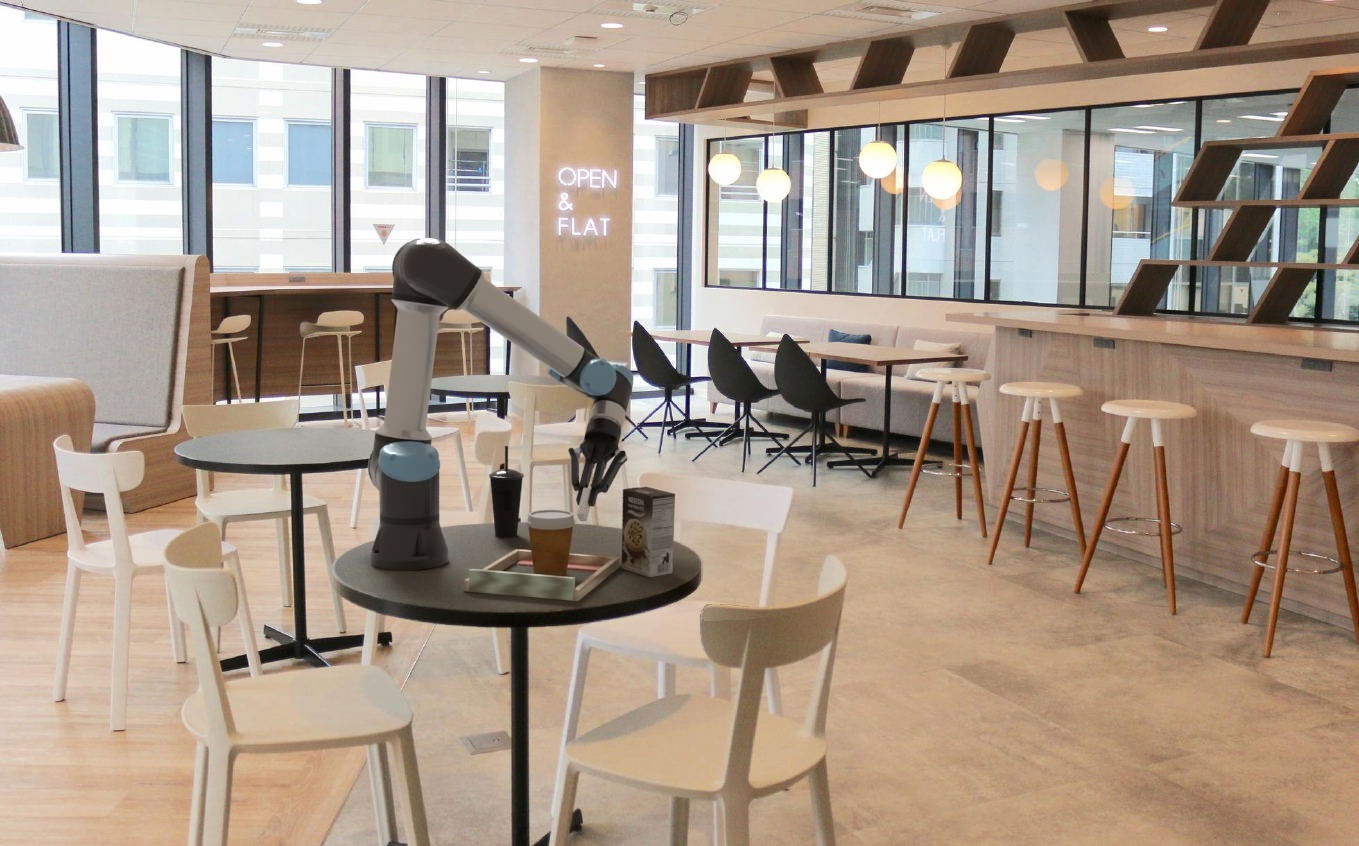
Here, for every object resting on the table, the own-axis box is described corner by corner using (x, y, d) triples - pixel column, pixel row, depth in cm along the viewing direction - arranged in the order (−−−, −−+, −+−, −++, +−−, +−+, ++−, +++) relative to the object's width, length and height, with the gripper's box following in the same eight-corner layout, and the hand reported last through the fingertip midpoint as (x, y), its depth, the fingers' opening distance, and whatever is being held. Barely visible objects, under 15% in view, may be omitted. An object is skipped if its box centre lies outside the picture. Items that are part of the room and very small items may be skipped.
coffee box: (619, 568, 235) (621, 488, 233) (644, 564, 239) (646, 485, 237) (649, 578, 228) (650, 495, 226) (674, 573, 232) (676, 492, 230)
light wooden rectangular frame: (463, 590, 216) (463, 569, 215) (515, 558, 241) (515, 539, 241) (578, 601, 211) (578, 579, 210) (619, 567, 236) (619, 547, 236)
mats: (516, 564, 236) (516, 563, 236) (523, 560, 240) (523, 559, 240) (603, 571, 232) (603, 570, 232) (608, 567, 236) (608, 566, 235)
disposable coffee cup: (576, 569, 234) (576, 509, 232) (573, 581, 224) (574, 519, 223) (527, 568, 233) (528, 508, 232) (523, 580, 224) (523, 518, 223)
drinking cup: (530, 534, 264) (531, 445, 261) (508, 540, 257) (508, 449, 255) (504, 529, 268) (504, 442, 265) (481, 535, 261) (481, 446, 259)
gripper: (636, 438, 258) (615, 529, 244) (579, 435, 261) (555, 525, 247) (630, 417, 252) (608, 509, 238) (572, 414, 255) (547, 505, 241)
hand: (581, 517), depth 242 cm, fingers closed
